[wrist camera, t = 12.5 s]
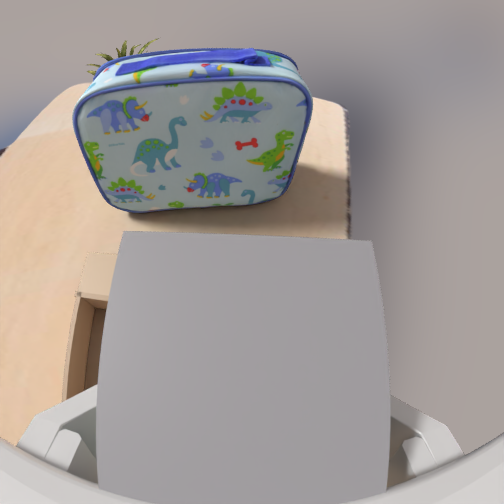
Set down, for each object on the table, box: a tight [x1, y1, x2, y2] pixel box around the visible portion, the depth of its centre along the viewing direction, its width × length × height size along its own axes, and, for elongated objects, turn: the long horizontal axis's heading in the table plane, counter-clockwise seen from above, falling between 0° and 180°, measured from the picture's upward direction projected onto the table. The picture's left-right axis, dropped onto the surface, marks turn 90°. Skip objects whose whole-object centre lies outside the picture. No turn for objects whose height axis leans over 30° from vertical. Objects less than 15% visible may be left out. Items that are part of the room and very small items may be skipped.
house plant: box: [88, 39, 157, 76], centre depth 41 cm, size 14×14×16 cm
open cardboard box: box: [62, 252, 118, 402], centre depth 25 cm, size 26×14×4 cm, turn 178°
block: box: [96, 231, 390, 504], centre depth 8 cm, size 5×4×11 cm
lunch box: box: [72, 48, 313, 213], centre depth 30 cm, size 26×11×21 cm, turn 97°
